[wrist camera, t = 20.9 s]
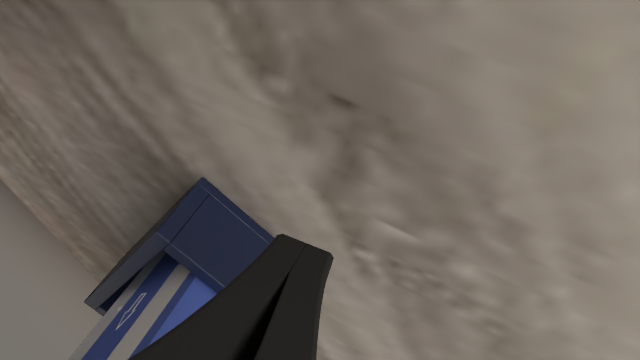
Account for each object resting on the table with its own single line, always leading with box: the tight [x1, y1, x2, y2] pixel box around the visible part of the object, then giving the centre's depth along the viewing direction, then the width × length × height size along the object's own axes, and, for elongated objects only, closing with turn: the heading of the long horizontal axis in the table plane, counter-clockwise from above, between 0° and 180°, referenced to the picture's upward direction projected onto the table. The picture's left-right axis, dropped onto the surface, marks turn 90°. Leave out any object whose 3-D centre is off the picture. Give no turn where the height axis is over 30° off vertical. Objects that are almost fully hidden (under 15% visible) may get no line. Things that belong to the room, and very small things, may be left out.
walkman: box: [68, 251, 218, 360], centre depth 25 cm, size 8×3×12 cm, turn 125°
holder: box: [84, 177, 274, 316], centre depth 29 cm, size 7×12×5 cm, turn 139°
